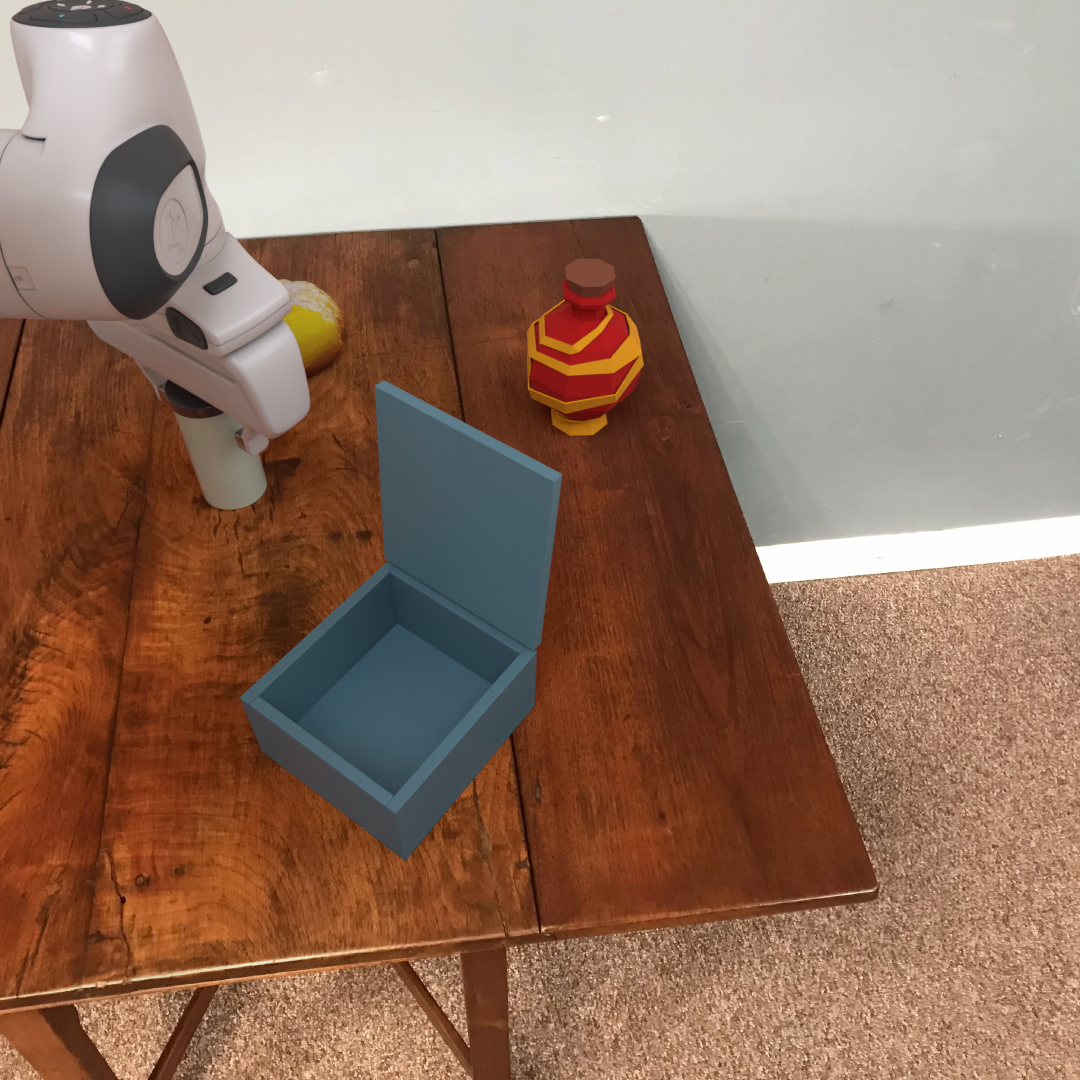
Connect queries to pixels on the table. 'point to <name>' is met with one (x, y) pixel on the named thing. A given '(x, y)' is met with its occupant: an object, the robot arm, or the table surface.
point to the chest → (393, 705)
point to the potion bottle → (583, 351)
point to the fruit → (314, 324)
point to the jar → (216, 451)
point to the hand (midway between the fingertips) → (213, 423)
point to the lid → (466, 513)
